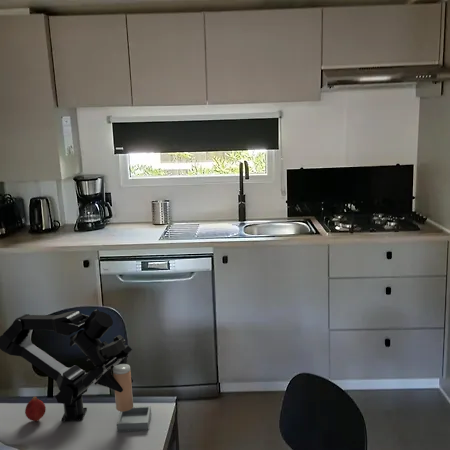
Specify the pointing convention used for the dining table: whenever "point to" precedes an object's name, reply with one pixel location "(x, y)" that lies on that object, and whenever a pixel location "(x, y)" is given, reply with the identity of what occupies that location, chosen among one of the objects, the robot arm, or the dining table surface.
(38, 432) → the dining table surface
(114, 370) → the brown cylinder grey top
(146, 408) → the tray
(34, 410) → the onion
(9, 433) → the dining table surface
